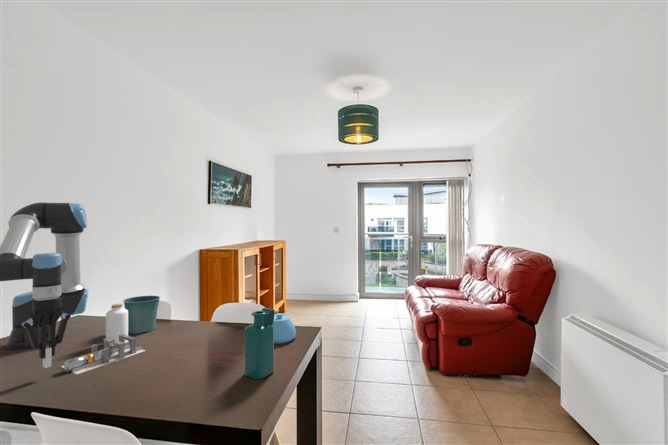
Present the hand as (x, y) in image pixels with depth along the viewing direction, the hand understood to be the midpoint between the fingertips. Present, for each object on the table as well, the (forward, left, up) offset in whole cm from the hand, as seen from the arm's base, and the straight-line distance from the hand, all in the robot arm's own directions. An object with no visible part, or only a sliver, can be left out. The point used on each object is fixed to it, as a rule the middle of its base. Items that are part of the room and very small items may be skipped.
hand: (47, 366), depth 109 cm
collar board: (0, +18, -5) cm, 19 cm away
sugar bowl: (+45, +70, -5) cm, 83 cm away
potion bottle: (-14, +29, -5) cm, 33 cm away
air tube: (0, +12, -4) cm, 13 cm away
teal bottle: (+61, +40, -5) cm, 73 cm away
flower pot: (-25, +46, -5) cm, 53 cm away
